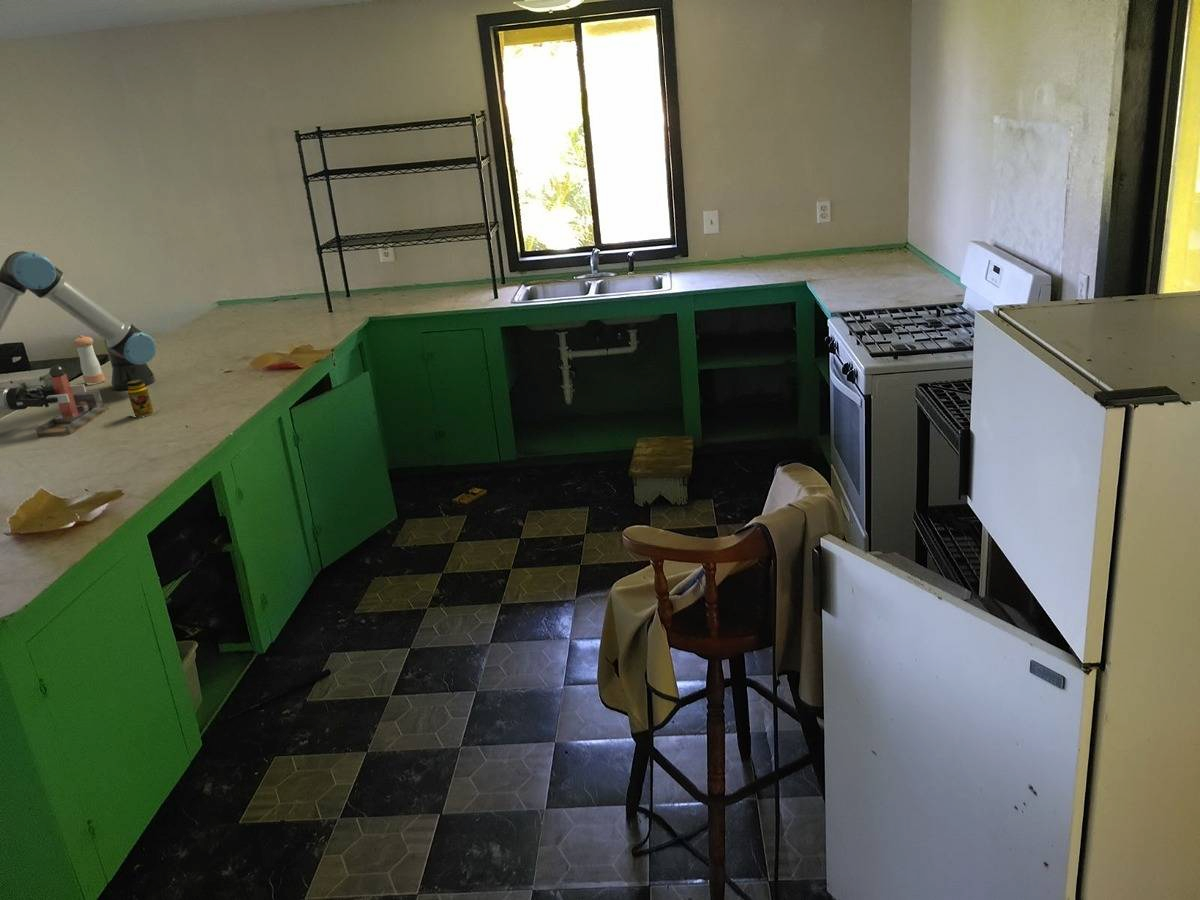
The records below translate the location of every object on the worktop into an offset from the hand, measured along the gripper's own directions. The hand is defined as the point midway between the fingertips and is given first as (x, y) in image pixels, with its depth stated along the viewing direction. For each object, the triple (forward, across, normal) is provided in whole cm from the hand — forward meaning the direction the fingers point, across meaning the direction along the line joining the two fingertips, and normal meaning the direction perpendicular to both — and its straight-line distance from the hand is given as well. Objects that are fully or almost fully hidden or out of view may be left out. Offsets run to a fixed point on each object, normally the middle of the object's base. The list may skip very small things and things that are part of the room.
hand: (76, 393), depth 316 cm
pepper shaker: (-24, -54, -11) cm, 60 cm away
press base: (-4, -1, -10) cm, 11 cm away
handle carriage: (-4, -2, -9) cm, 10 cm away
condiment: (+18, -4, -11) cm, 22 cm away
